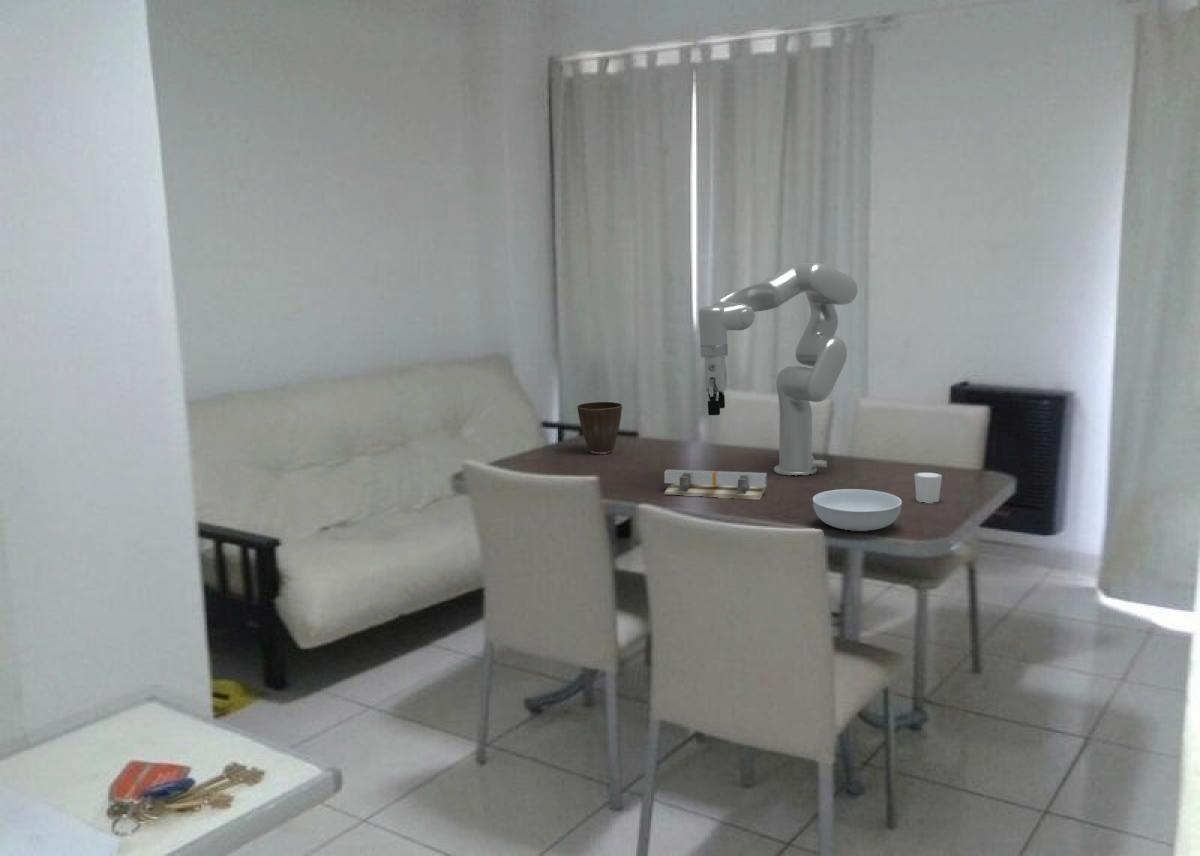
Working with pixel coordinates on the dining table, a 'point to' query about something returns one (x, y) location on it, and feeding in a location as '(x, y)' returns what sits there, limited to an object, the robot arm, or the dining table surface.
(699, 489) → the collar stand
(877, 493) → the serving bowl
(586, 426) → the plant pot
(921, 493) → the white cup
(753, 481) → the white banded bar
